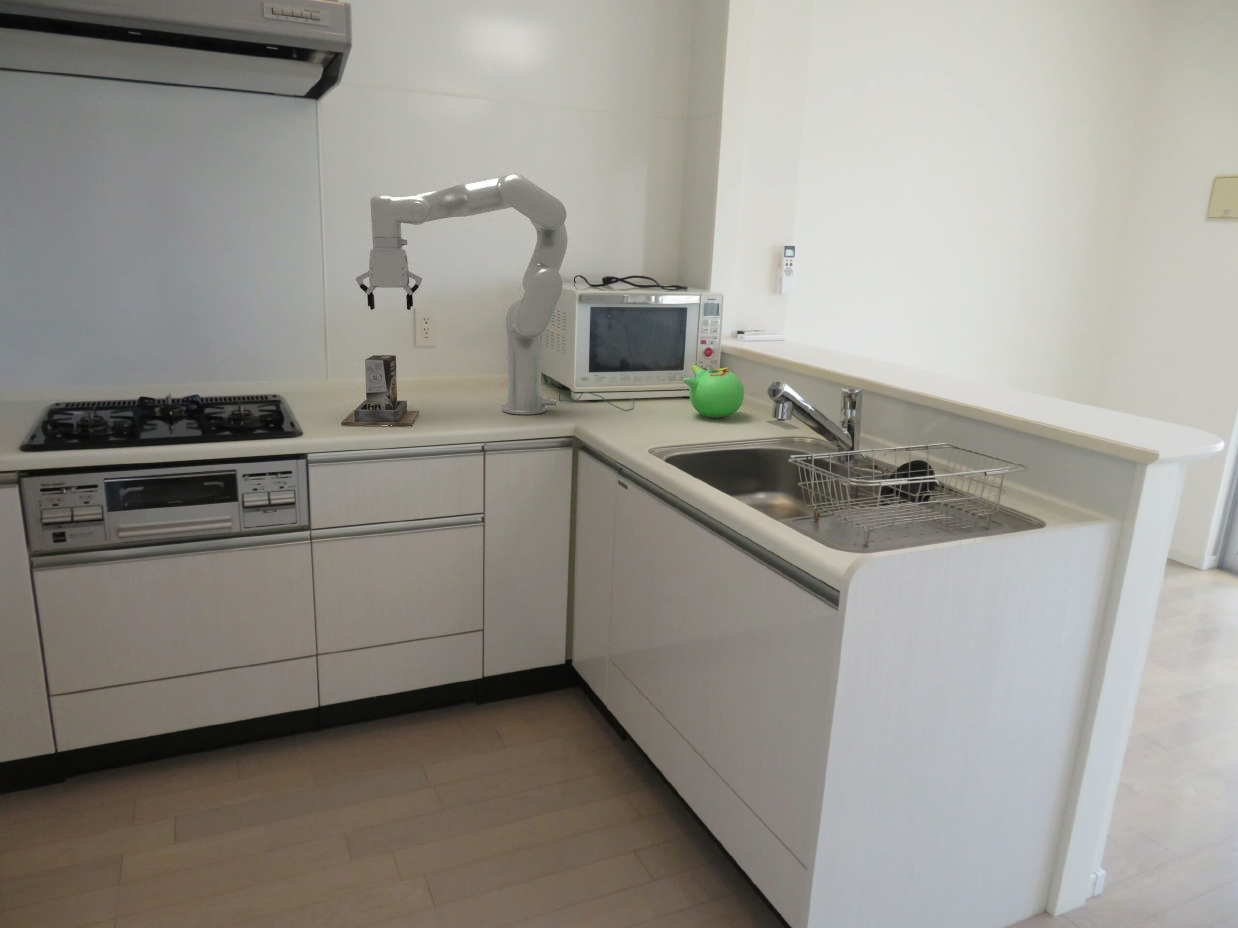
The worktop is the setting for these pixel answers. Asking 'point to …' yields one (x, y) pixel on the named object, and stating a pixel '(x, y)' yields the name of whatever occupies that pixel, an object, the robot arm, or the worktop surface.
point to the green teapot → (715, 392)
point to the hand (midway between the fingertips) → (390, 309)
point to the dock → (381, 416)
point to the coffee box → (381, 382)
